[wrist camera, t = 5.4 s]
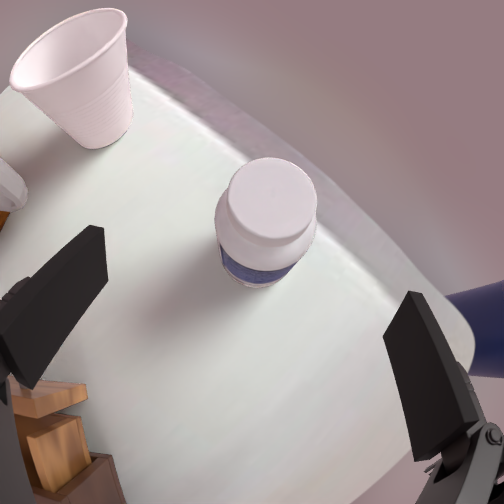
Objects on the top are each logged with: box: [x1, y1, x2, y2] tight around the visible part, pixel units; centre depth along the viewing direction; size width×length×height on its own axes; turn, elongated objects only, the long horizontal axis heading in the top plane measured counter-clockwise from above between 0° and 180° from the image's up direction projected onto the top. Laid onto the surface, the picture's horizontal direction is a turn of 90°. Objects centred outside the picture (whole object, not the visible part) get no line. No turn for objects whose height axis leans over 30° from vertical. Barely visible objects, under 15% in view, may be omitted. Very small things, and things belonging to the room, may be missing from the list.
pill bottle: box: [215, 158, 317, 288], centre depth 18 cm, size 5×5×10 cm
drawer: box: [8, 375, 92, 493], centre depth 13 cm, size 17×11×7 cm, turn 7°
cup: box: [9, 8, 133, 149], centre depth 19 cm, size 10×10×11 cm
